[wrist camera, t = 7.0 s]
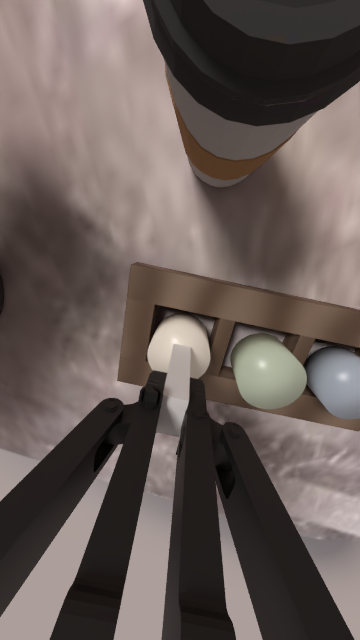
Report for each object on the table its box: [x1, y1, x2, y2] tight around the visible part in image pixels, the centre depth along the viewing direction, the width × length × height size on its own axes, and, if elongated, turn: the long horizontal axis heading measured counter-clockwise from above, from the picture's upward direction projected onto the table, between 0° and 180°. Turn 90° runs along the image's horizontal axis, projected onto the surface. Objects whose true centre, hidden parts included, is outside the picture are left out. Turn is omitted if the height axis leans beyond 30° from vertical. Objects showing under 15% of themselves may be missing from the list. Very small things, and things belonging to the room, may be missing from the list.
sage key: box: [230, 333, 307, 409], centre depth 19 cm, size 6×6×4 cm
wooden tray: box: [117, 262, 360, 431], centre depth 23 cm, size 28×13×2 cm, turn 78°
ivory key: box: [147, 313, 210, 379], centre depth 20 cm, size 6×6×4 cm
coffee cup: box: [143, 0, 360, 187], centre depth 11 cm, size 8×8×15 cm
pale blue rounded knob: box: [303, 346, 360, 419], centre depth 20 cm, size 6×6×4 cm
